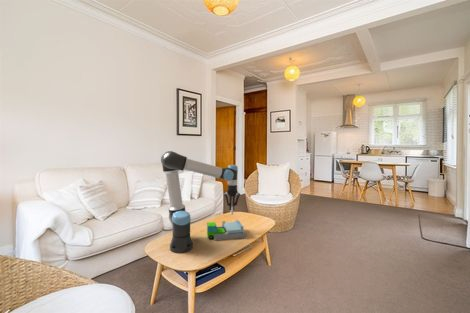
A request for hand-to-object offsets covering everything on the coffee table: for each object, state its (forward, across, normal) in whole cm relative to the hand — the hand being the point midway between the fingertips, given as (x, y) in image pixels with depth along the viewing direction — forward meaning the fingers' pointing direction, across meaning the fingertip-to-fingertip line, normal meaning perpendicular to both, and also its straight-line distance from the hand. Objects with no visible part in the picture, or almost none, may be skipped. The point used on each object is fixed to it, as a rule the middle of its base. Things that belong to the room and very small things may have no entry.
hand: (231, 214), depth 180 cm
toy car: (+15, -13, -7) cm, 21 cm away
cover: (+14, 0, -3) cm, 15 cm away
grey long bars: (+15, -3, -5) cm, 16 cm away
